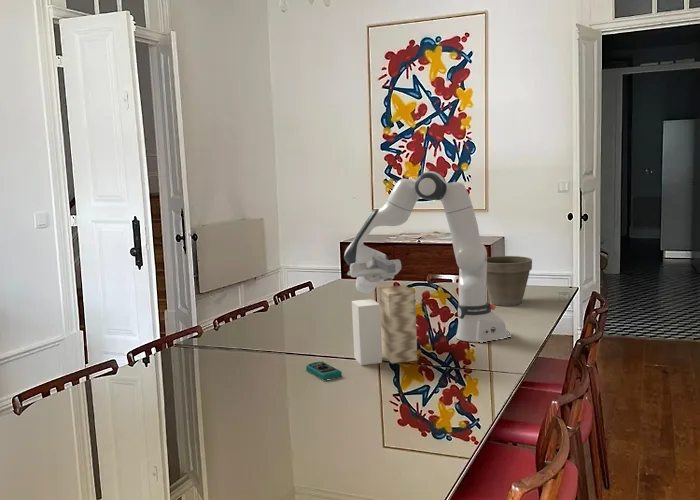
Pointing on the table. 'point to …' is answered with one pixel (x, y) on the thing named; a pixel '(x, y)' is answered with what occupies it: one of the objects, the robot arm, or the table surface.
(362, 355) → the block
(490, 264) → the plant pot
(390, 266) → the rod
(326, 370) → the digital multimeter
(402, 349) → the tall stand
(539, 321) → the table surface
